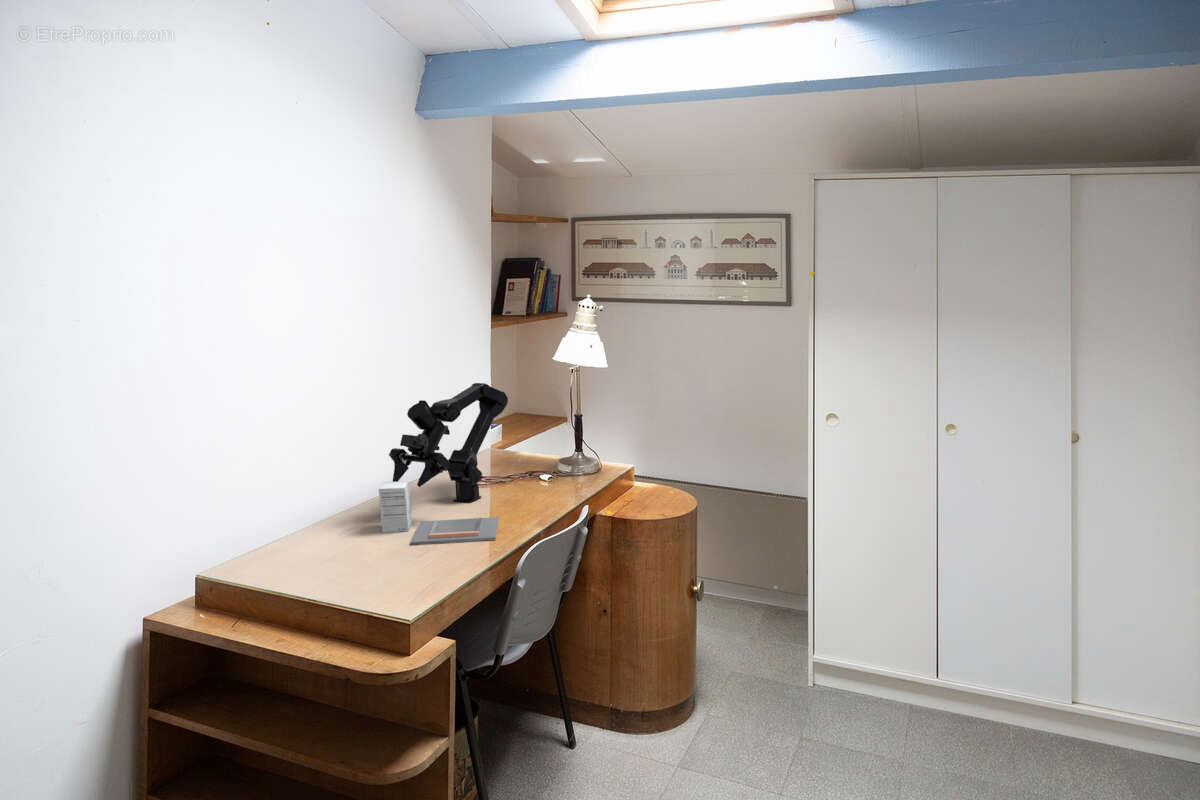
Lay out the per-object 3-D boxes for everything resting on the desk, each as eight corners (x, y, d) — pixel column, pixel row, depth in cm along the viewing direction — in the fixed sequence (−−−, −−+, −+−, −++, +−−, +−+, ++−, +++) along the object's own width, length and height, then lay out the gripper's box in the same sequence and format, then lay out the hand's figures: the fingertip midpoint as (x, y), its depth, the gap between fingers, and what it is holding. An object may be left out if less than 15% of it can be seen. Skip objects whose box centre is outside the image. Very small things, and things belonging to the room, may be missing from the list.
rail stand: (420, 524, 224) (420, 518, 224) (498, 519, 226) (498, 513, 226) (410, 545, 207) (410, 538, 206) (495, 540, 208) (495, 533, 208)
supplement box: (386, 525, 225) (382, 481, 223) (412, 523, 225) (409, 480, 223) (381, 533, 217) (377, 488, 215) (408, 531, 218) (405, 487, 216)
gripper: (391, 420, 230) (365, 466, 222) (440, 424, 221) (415, 472, 213) (411, 442, 238) (387, 486, 230) (460, 447, 229) (437, 493, 221)
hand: (406, 484), depth 224 cm, fingers open, 9 cm apart
